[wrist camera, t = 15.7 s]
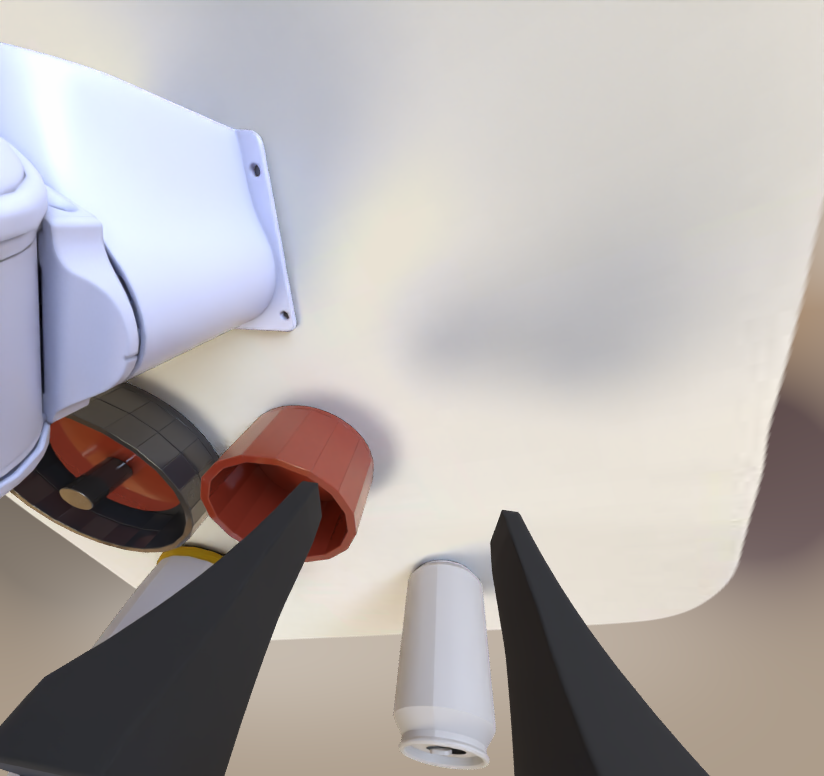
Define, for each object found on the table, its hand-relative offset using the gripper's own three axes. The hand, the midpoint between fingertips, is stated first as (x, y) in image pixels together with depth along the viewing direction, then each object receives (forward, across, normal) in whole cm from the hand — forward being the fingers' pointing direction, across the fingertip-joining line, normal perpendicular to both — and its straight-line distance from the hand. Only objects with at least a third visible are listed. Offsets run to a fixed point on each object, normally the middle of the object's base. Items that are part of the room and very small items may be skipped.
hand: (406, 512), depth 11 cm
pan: (+9, +25, +10) cm, 28 cm away
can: (+10, -4, +22) cm, 24 cm away
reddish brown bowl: (+9, +8, +8) cm, 15 cm away
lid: (+8, +25, +10) cm, 28 cm away
